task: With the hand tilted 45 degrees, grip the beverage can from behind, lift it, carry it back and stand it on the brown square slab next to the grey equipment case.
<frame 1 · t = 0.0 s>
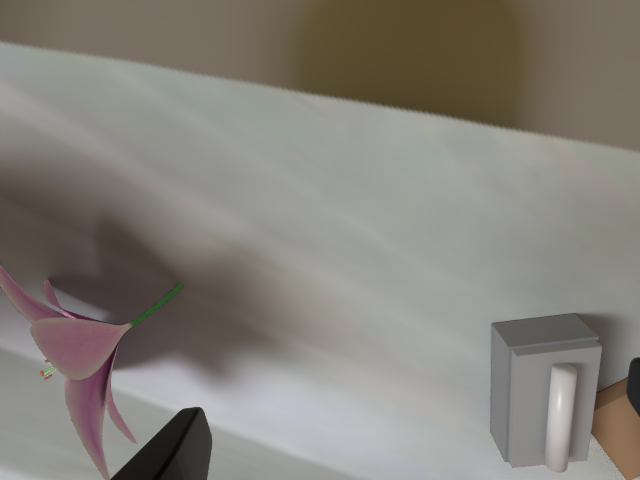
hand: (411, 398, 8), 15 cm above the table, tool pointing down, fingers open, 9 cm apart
lily: (121, 303, 25), on the table
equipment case: (529, 376, 26), on the table
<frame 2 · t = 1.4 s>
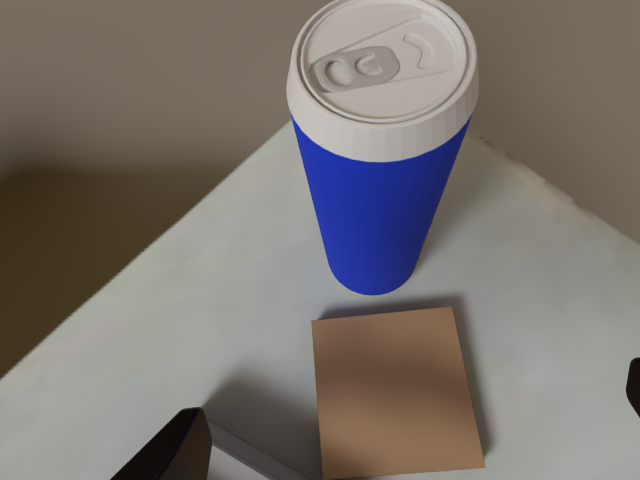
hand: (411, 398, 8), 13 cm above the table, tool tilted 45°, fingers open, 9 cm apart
beverage can: (371, 256, 24), on the table
brown square slab: (390, 388, 21), on the table
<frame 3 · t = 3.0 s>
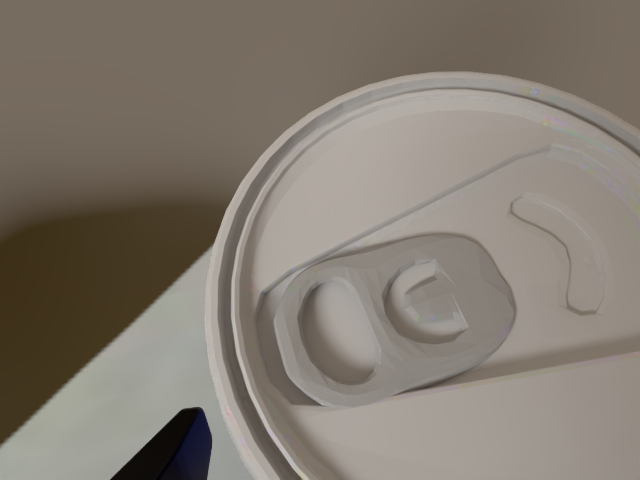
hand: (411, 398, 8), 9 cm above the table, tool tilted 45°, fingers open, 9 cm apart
beverage can: (385, 388, 17), on the table
when the fingers open (9 cm above the table, at t = 7.0 s): beverage can stays where it is, resting on brown square slab.
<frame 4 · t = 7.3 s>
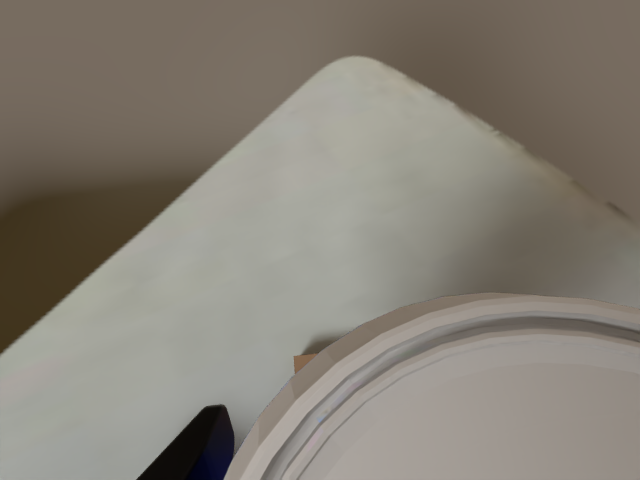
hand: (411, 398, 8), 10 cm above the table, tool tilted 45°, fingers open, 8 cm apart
beverage can: (395, 450, 16), point 1 cm above the table, touching brown square slab
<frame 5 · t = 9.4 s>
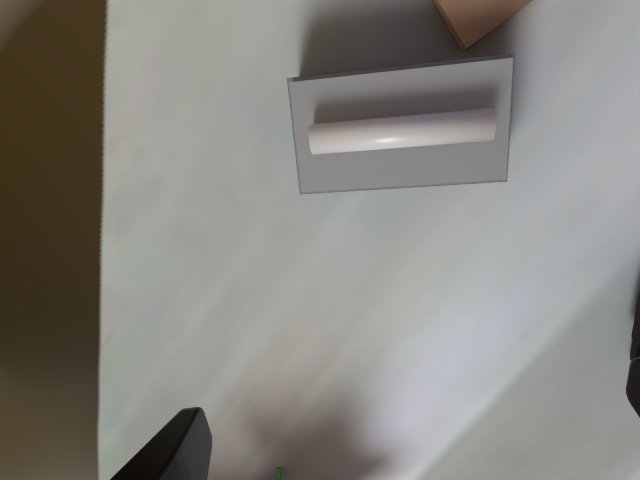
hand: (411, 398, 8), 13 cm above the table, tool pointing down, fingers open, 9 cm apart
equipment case: (395, 126, 19), on the table
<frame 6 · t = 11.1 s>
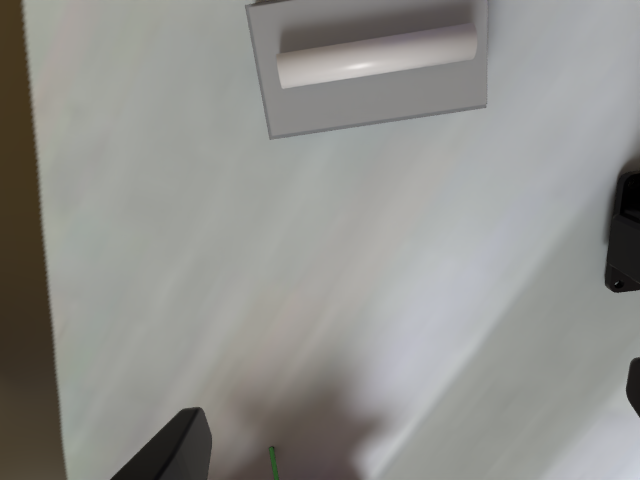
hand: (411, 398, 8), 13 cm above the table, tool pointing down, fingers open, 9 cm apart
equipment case: (364, 61, 18), on the table
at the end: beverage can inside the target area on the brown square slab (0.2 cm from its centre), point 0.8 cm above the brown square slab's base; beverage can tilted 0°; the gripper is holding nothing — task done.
